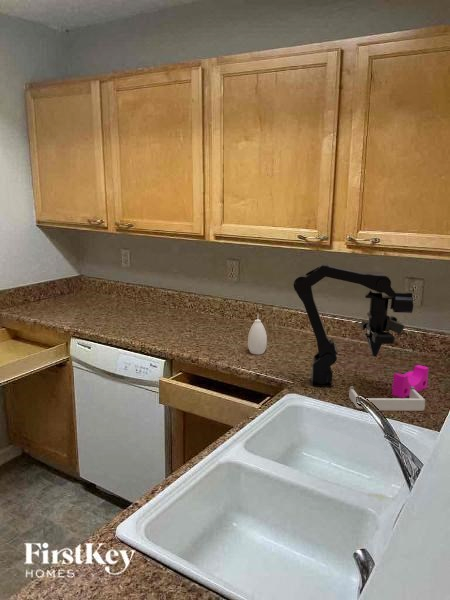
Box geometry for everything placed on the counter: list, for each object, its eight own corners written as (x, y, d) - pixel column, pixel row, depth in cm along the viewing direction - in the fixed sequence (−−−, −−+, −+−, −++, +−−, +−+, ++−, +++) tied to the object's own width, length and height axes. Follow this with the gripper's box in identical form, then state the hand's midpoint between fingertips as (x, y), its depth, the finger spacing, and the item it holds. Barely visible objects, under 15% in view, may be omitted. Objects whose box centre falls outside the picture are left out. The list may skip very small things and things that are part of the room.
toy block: (410, 382, 166) (412, 362, 165) (426, 388, 161) (428, 367, 160) (385, 392, 157) (387, 371, 156) (402, 398, 153) (404, 377, 151)
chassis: (356, 410, 143) (357, 397, 142) (348, 398, 152) (349, 386, 151) (424, 410, 143) (425, 398, 143) (412, 398, 152) (413, 386, 152)
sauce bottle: (250, 351, 198) (251, 310, 194) (268, 354, 195) (269, 312, 192) (245, 357, 191) (245, 314, 187) (263, 359, 188) (264, 316, 185)
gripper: (413, 318, 145) (408, 366, 148) (393, 305, 163) (389, 348, 166) (377, 318, 145) (373, 365, 148) (361, 305, 163) (358, 347, 166)
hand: (374, 356), depth 157 cm, fingers closed
